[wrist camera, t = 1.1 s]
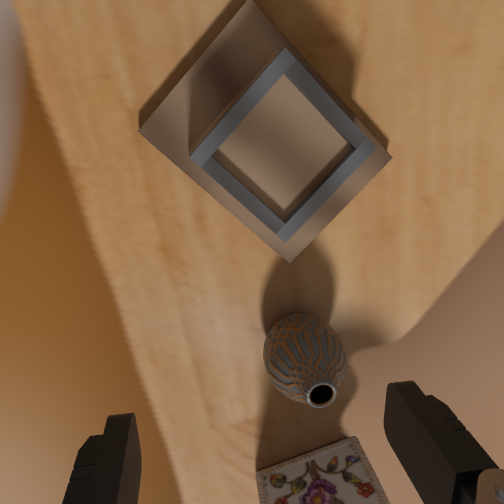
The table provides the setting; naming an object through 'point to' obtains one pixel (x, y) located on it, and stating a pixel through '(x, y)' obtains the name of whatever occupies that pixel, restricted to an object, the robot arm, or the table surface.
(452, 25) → the table surface
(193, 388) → the table surface
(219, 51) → the display stand
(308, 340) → the vase
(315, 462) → the decorative jar
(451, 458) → the robot arm
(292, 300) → the table surface
